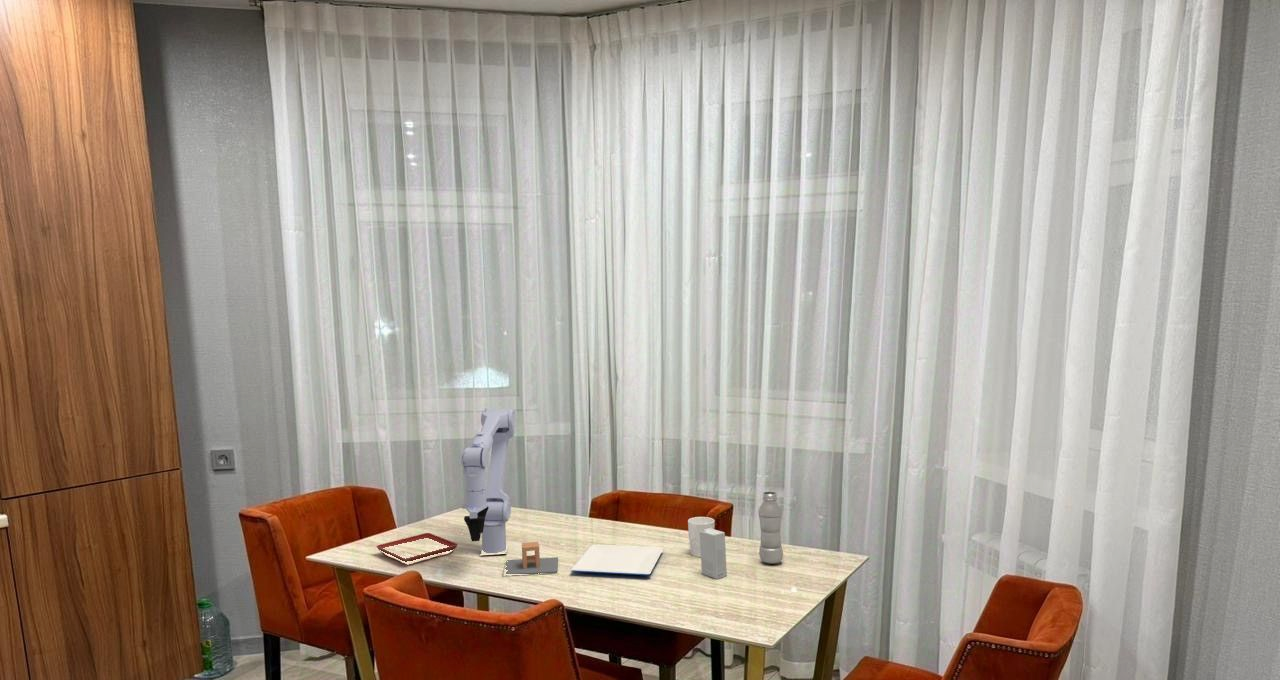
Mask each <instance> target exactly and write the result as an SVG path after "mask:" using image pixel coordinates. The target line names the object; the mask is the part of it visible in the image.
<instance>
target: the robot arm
mask: <svg viewBox="0 0 1280 680" xmlns="http://www.w3.org/2000/svg"><path fill="white" fill-rule="evenodd" d="M480 422H481V426H482V427H481V430H480V431H478V432H477V433H475V434H474V436H473V439H472V440H471V443H470V444H469V446H468V447H466V448H465V449H463V450H462V452H461V459H460V463H461V466H462V472H463V474H464V484H465V487H464V488H465V504H462V505H461V509H463V510H464V509H466V511H467V512H468V513H469V515H464V517H463V520H464V523H465V524H466V525H467V528H468V532H469V535H470V539H471V542H479V541H480V539H481V549H482V550H483V551H484V552H486V553H498V552H502V551H505V550H506V544H507V534H506V533H507V529H506V527H507V526H506V523H508V521H509V520H510V518H511V514H512V507H511V497H510V496H509V494H507V493H505V491H504V482H505V480H504V479H505V474H506V463H507V456H508V455H507V454H508V447H509V442H510V441H509V440H510V439H512V438H513V437H514V436H515V432H516V425H517V424H516V423H517V415H516V411H515V409H514V408H484V409H483V410H482V412H481V414H480ZM490 451H491V453H489V452H490ZM489 457H490V462H489ZM488 463H489V468H488V469H489V470H488V479H487V478H486V477H487V474H486V473H487V472H486V468H487V466H488Z"/></svg>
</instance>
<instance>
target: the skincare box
mask: <svg viewBox="0 0 1280 680" xmlns="http://www.w3.org/2000/svg"><path fill="white" fill-rule="evenodd" d="M700 550H701V557H700V564H701V565H700V566H701V567H700V568H701V574H702V575H704V576H707V577H710V578H713V579H716V580H718V579H723V578H724V577H727V574H728V571H727V554H726V553H727V552H726V551H727V549H726V533H725V532H724V531H721V530H717V529H715V528H714V529H711V528H708V529H705V530H702V531H700Z"/></svg>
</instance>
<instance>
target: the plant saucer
mask: <svg viewBox="0 0 1280 680" xmlns="http://www.w3.org/2000/svg"><path fill="white" fill-rule="evenodd" d="M424 538H429V539H432V540H434V541H437V542H439V543H441V544H444V545H447V546H449V547H447V548H443V549H439V550H436V551H432V552H428V553H425V554H421V555H417V556H414V557H410V558H406V559H405V558H402V557H400V556H398V555H396V554H394V553H391V552H389V551H387V550H385V549H383V548H385V547H389V546H394V545H398V544H402V543H407V542H412V541H416V540H419V539H424ZM458 545H459V544H458V543H456V542H454V541H451V540H449V539H446V538H444V537H441V536H439V535H436V534H433V533H431V532H425V533H421V534H417V535H413V536H409V537H405V538H401V539H396V540H393V541H390V542H385V543H382V544H378V545H376V548H377V549H378V550H379V551H380V550H381V551H383V552H385V553H387V554H390V555H392V556H394V557H396V558H398V559H400V560H402V561H405V562H407V561H413V560H416V559H420V558H423V557H427V556H430V555H434V554H438V553H442V552H446V551H450V550H453V549H454V550H455V549H457V547H458ZM454 550H453V551H454ZM381 551H380V552H381Z"/></svg>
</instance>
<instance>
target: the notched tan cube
mask: <svg viewBox="0 0 1280 680" xmlns="http://www.w3.org/2000/svg"><path fill="white" fill-rule="evenodd" d="M533 551H534V554H532V555H528V554H527V552H533ZM521 555H522V556H521V559H522V564H523V569H527V562H535V564H536V568H540V544H539V542H538V541H531V542H530V541H529V542H522V543H521Z"/></svg>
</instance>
